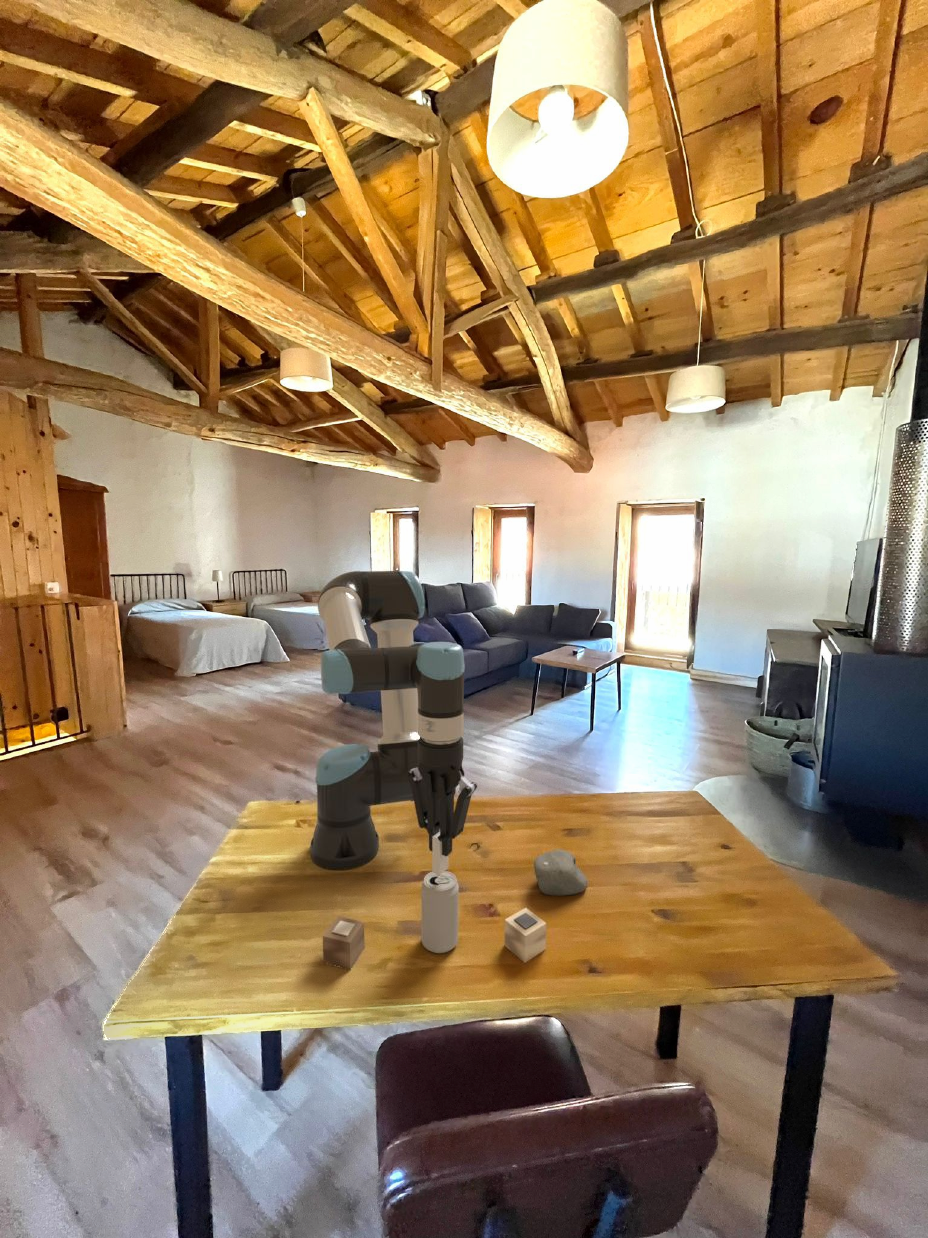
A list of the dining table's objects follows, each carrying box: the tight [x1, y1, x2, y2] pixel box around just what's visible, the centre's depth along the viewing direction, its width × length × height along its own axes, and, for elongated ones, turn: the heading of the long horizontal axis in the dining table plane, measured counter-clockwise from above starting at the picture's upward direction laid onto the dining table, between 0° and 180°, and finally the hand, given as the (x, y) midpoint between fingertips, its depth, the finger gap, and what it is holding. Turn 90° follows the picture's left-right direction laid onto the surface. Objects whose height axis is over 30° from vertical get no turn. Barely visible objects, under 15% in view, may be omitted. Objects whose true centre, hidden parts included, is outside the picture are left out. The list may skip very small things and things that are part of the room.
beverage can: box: [420, 870, 460, 954], centre depth 93 cm, size 6×6×12 cm
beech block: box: [503, 907, 547, 964], centre depth 93 cm, size 5×5×5 cm
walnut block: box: [322, 916, 366, 971], centre depth 91 cm, size 5×5×5 cm
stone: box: [533, 849, 589, 896], centre depth 110 cm, size 9×9×10 cm
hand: (440, 870), depth 92 cm, fingers closed
